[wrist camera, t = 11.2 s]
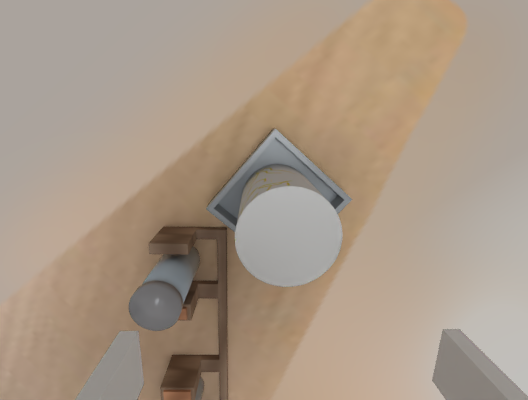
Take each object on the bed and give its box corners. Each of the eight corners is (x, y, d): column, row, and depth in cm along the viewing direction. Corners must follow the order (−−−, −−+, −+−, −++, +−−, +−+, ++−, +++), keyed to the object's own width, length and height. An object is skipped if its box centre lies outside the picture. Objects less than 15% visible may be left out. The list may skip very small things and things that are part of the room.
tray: (280, 258, 36) (282, 270, 33) (210, 201, 34) (205, 209, 31) (343, 192, 34) (352, 199, 31) (273, 128, 32) (275, 128, 29)
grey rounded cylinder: (164, 275, 36) (131, 330, 26) (162, 241, 35) (126, 286, 25) (201, 275, 36) (181, 330, 26) (200, 241, 35) (179, 286, 25)
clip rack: (175, 407, 41) (164, 447, 36) (163, 226, 34) (147, 244, 29) (227, 407, 42) (223, 447, 36) (226, 227, 35) (221, 245, 29)
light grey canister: (274, 148, 32) (285, 162, 20) (326, 195, 33) (364, 233, 22) (227, 202, 33) (212, 244, 21) (279, 244, 35) (292, 305, 23)
